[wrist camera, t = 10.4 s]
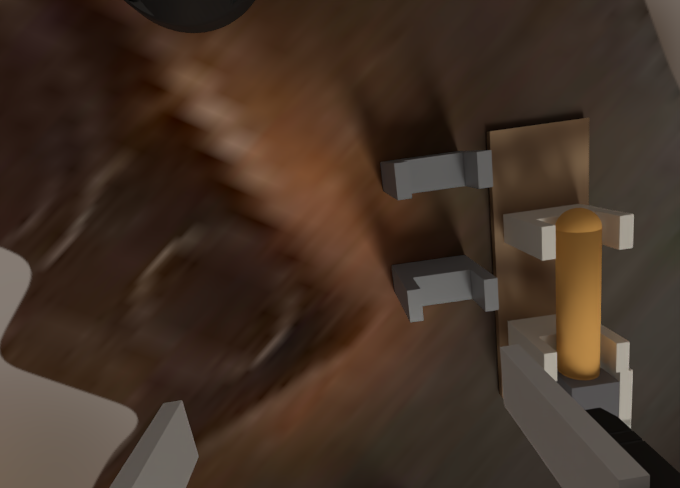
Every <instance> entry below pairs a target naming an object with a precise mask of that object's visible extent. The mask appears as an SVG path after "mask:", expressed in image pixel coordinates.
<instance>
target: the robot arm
mask: <svg viewBox="0 0 680 488" xmlns="http://www.w3.org/2000/svg"><path fill="white" fill-rule="evenodd" d="M124 1H126V2H127V3H128V4H129V5H130V6H131V7H133V8H134V9H135V10H137V11H138V12H139V13H141V14H142V15H143V16H144V17H146V18H147V19H149V20H151V21H152V22H154V23H156V24H158V25H160V26H163V27H165V28H168V29H171V30H175V31H179V32H186V33H201V32H208V31H212V30H216V29H219V28H222V27H224V26H226V25H228V24H230V23H231V22H233V21H235V20H236V19H238V18H239V17H240V16H241V15H242V14H244V13H245V12H246V11H247V10H248V9H249V7H250V6H251V5H252V4H253V2H254V1H255V0H124ZM500 356H501V370H502V383H503V397H504V406H505V407H506V409H507V410H508V412H509V413H510V414H511V416H512V417H513V419H514V420H515V422H516V423H517V424H518V426H519V427H520V429H521V430H522V432H523V433H524V434H525V436H526V437H527V439H528V440H529V441H530V443H531V444H532V446H533V447H534V449H535V450H536V451H537V453H538V454H539V456H540V457H541V458H542V460H543V461H544V463H545V464H546V466H547V467H548V468H549V470H550V471H551V473H552V474H553V476H554V477H555V478H556V480H557V481H558V483H559V484H560V485H561V487H562V488H680V473H679V472H678V471H677V470H676V469H675V468H673V467H672V466H671V465H670V464H669V463H668V462H667V461H666V460H665V459H664V458H662V457H661V456H660V455H659V454H658V453H657V452H656V451H655V450H654V449H653V448H651V447H650V446H649V445H648V444H647V443H646V442H645V441H642V438H640V437H639V436H638V435H637V434H636V433H635V432H634V431H631V428H629V427H628V426H627V425H626V424H625V423H624V422H623V421H622V420H621V419H620V418H618V417H617V416H615V415H613V414H611V413H610V412H608V411H606V410H604V409H602V408H594V409H588V410H584V409H583V408H582V407H581V406H580V405H579V404H578V403H577V402H576V401H575V400H574V399H573V398H572V397H571V396H570V395H569V394H568V393H567V392H566V391H565V390H564V389H563V388H562V387H561V386H560V385H559V384H558V383H557V382H556V381H555V380H554V379H553V378H552V377H551V376H550V375H549V374H548V373H547V372H546V371H545V370H544V369H543V368H542V367H541V366H540V365H539V364H538V363H537V362H536V361H535V360H534V359H533V358H532V357H531V356H530V355H529V354H528V353H527V352H526V351H525V350H524V349H523V348H522V347H521V346H520V345H519V344H515V345H509V346H503V347H500ZM198 457H199V456H198V453H197V449H196V446H195V442H194V439H193V436H192V432H191V429H190V425H189V422H188V419H187V415H186V412H185V409H184V405H183V402H182V400H180V401H174V402H168V403H163V405H162V406H161V408H160V410H159V411H158V413H157V414H156V416H155V417H154V419H153V421H152V422H151V424H150V425H149V427H148V428H147V430H146V431H145V433H144V435H143V436H142V438H141V439H140V441H139V442H138V444H137V446H136V447H135V449H134V450H133V452H132V453H131V455H130V456H129V458H128V460H127V461H126V463H125V464H124V466H123V467H122V469H121V471H120V472H119V474H118V475H117V477H116V478H115V480H114V482H113V483H112V485H111V486H110V488H186V486H187V483H188V481H189V479H190V476H191V474H192V471H193V469H194V467H195V464H196V462H197V459H198Z"/></svg>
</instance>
